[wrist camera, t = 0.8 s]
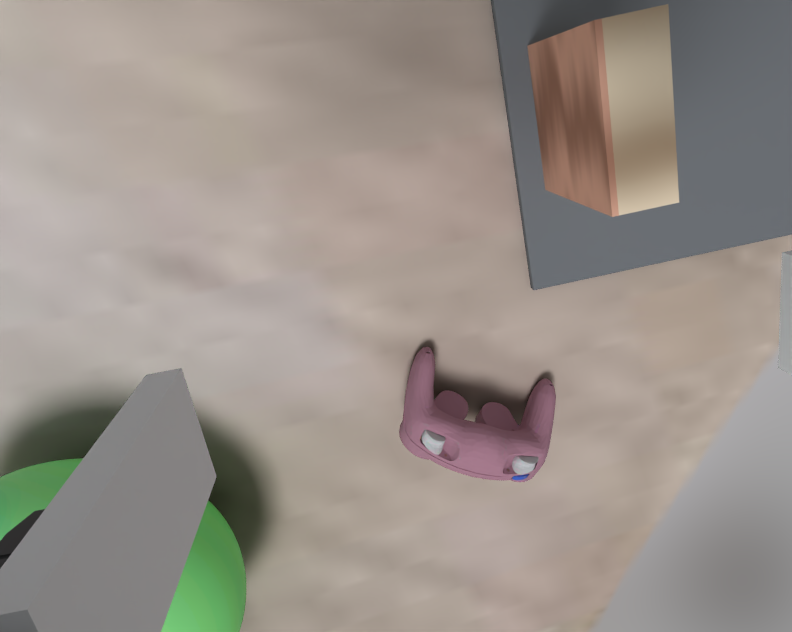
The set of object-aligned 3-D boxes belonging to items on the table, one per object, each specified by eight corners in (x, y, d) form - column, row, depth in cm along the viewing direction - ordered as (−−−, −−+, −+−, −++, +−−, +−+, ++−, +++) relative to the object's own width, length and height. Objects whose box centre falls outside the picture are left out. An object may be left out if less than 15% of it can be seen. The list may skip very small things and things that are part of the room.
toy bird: (282, 449, 41) (245, 620, 28) (235, 642, 46) (184, 869, 32) (1, 393, 39) (-196, 549, 25) (-18, 602, 44) (-191, 831, 30)
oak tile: (527, 45, 34) (594, 19, 24) (580, 34, 34) (668, 4, 24) (545, 189, 36) (612, 216, 27) (594, 179, 36) (679, 202, 27)
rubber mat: (481, -68, 33) (483, -71, 32) (796, -137, 32) (803, -142, 32) (530, 287, 39) (533, 290, 38) (793, 230, 39) (800, 232, 38)
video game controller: (397, 380, 42) (388, 469, 37) (418, 337, 39) (412, 428, 34) (529, 414, 44) (538, 504, 39) (560, 375, 41) (574, 467, 36)
